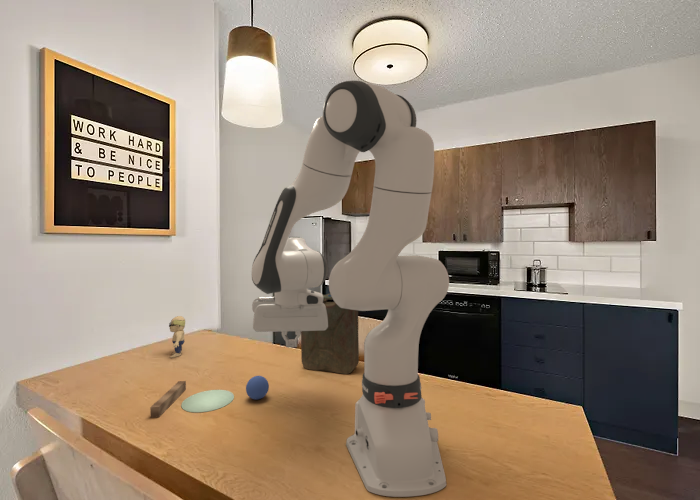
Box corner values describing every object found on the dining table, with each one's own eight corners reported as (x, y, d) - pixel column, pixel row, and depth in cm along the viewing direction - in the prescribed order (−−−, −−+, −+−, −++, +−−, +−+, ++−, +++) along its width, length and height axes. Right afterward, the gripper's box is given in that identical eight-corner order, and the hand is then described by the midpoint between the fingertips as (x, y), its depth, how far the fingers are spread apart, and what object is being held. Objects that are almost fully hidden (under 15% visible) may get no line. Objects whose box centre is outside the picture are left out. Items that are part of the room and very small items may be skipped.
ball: (267, 403, 89) (266, 380, 89) (243, 404, 89) (243, 381, 89) (270, 393, 95) (270, 372, 95) (248, 394, 95) (248, 372, 95)
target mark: (226, 411, 85) (226, 410, 85) (172, 413, 84) (172, 412, 84) (239, 389, 98) (239, 388, 98) (192, 391, 97) (192, 390, 97)
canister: (360, 367, 115) (359, 293, 115) (352, 376, 107) (351, 297, 107) (310, 361, 122) (309, 291, 121) (299, 369, 114) (298, 295, 113)
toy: (172, 351, 135) (172, 313, 135) (188, 349, 137) (187, 312, 137) (165, 361, 123) (165, 320, 123) (182, 359, 125) (182, 319, 125)
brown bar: (159, 417, 82) (158, 406, 82) (150, 417, 82) (150, 407, 82) (185, 389, 98) (185, 380, 98) (178, 389, 98) (178, 381, 98)
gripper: (249, 299, 89) (250, 351, 89) (328, 297, 90) (328, 349, 91) (254, 295, 95) (255, 344, 95) (327, 294, 96) (328, 342, 97)
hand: (291, 346), depth 93 cm, fingers closed
